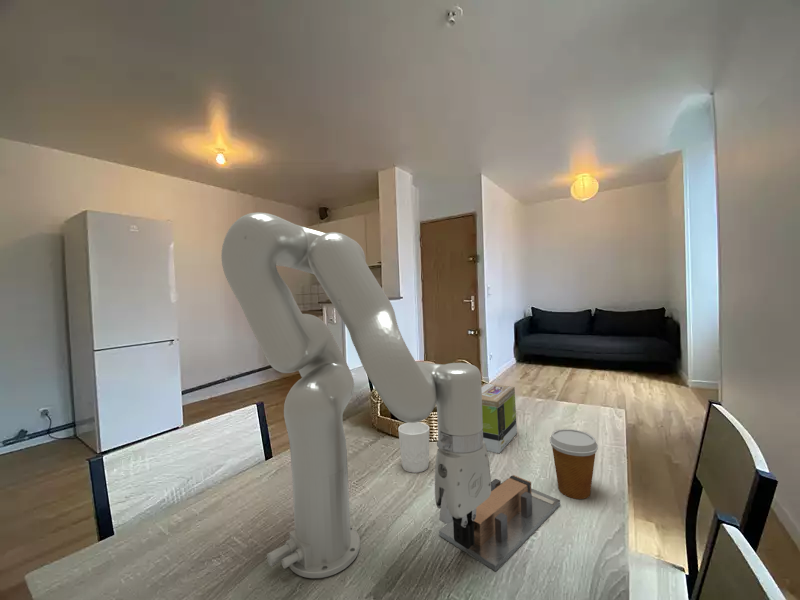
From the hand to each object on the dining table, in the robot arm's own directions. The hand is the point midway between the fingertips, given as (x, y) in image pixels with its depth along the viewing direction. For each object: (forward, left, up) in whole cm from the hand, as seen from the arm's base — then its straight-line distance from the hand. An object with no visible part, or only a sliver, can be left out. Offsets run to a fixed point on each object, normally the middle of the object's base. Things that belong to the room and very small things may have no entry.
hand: (464, 542), depth 62 cm
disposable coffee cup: (+31, -6, -2) cm, 32 cm away
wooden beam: (+11, 0, -1) cm, 11 cm away
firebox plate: (+12, 0, -2) cm, 13 cm away
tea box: (+41, +21, -2) cm, 46 cm away
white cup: (+15, +27, -2) cm, 31 cm away
